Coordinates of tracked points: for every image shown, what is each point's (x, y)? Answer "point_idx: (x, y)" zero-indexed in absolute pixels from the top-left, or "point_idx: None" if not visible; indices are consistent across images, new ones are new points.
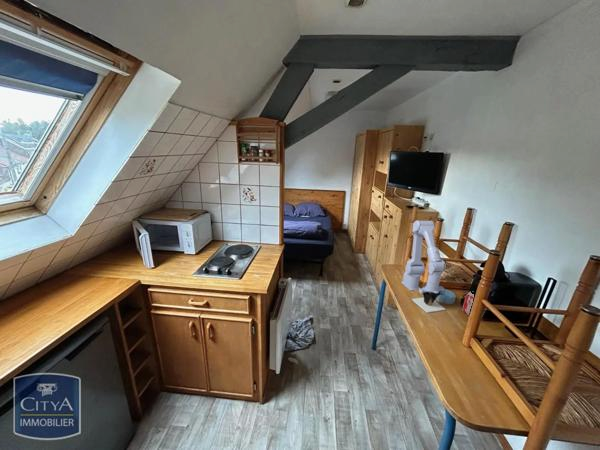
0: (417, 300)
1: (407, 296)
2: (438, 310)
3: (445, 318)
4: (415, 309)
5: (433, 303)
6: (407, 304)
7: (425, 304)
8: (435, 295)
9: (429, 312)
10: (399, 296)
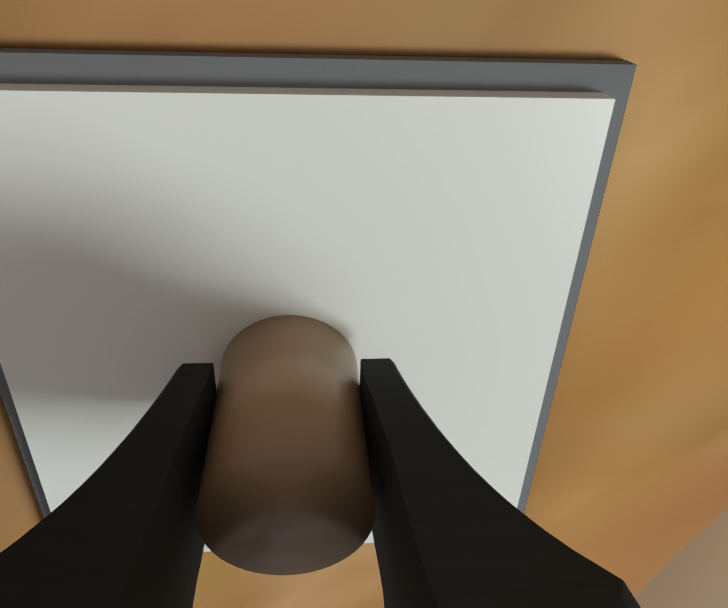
0: None
1: None
2: (199, 89)
3: None
4: (701, 277)
5: (133, 367)
6: (694, 429)
7: None
8: (133, 595)
9: (520, 89)
10: None
